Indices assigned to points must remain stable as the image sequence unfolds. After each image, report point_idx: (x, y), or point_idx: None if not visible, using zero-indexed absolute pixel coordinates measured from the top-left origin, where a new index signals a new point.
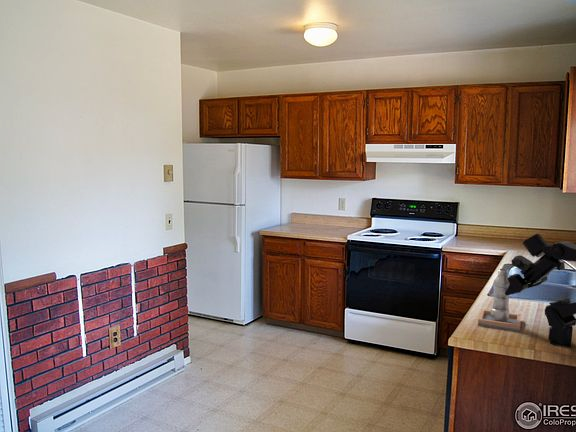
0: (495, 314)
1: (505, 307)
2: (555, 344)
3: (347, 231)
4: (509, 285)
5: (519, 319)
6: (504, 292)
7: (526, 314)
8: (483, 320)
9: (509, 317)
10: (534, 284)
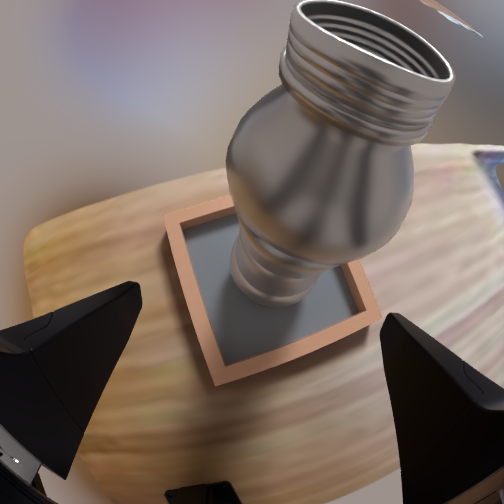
0: (230, 255)
1: (260, 286)
2: (170, 502)
3: (449, 14)
4: (13, 329)
5: (310, 347)
6: (254, 244)
7: (446, 299)
8: (168, 235)
9: (348, 284)
10: (413, 494)
